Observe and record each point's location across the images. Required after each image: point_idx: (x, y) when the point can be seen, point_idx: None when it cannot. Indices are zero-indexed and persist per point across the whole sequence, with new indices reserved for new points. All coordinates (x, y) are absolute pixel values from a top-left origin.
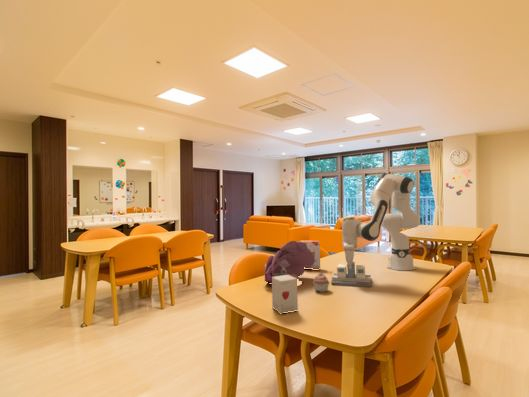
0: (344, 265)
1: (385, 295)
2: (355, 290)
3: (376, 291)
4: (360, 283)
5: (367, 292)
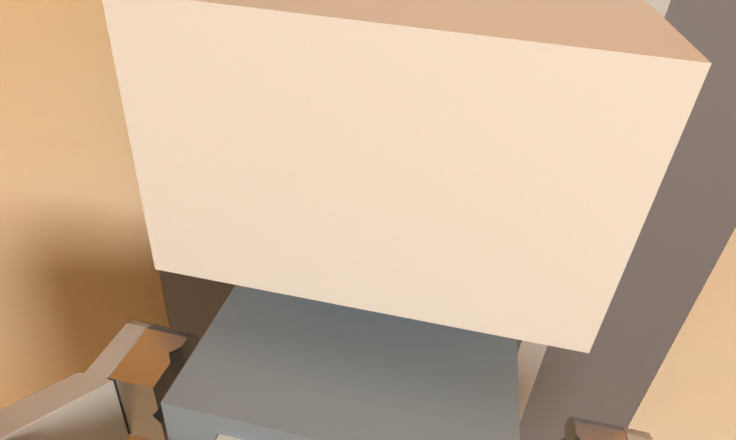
0: (438, 284)
1: (4, 389)
2: (3, 184)
3: (77, 361)
4: (185, 291)
5: (4, 286)
